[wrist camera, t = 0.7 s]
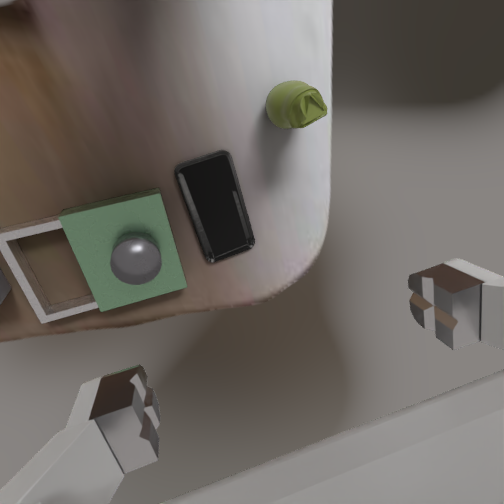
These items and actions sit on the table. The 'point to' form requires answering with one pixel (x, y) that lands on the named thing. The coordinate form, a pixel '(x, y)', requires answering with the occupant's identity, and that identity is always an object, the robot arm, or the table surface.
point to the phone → (215, 205)
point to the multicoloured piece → (105, 253)
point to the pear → (294, 105)
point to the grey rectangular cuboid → (3, 287)
